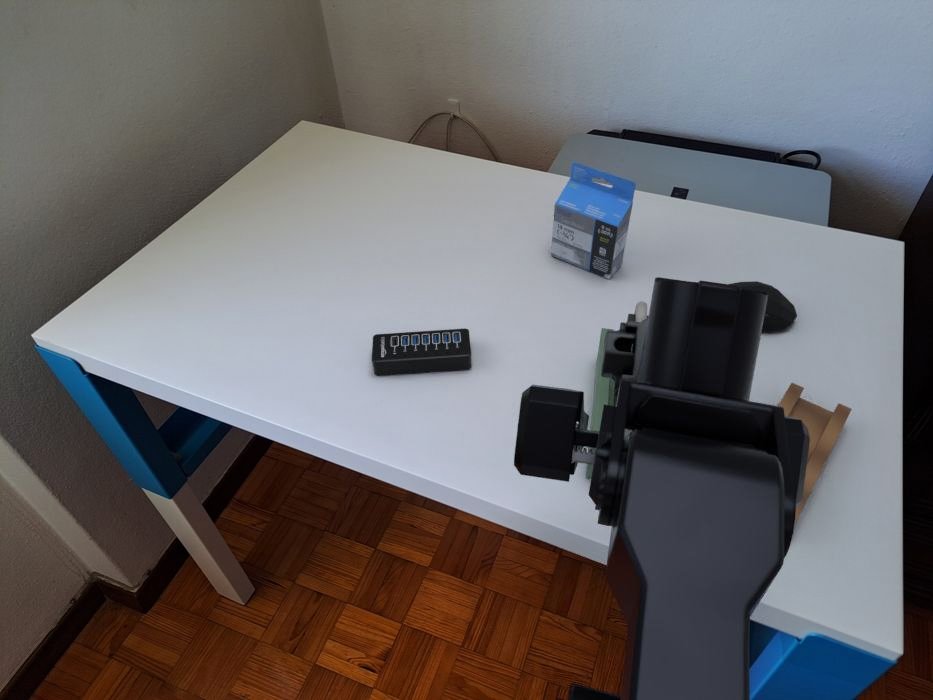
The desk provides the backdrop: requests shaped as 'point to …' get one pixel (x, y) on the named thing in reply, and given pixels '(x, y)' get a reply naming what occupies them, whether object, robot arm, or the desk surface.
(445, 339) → the multiport hub
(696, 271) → the desk surface
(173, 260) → the desk surface
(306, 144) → the desk surface
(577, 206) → the blue product box
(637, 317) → the black hanger
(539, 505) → the desk surface
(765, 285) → the gaming mouse
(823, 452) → the low rail
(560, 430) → the robot arm
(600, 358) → the high rail
